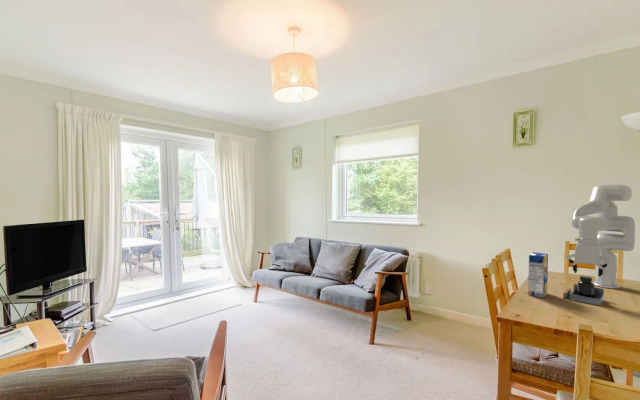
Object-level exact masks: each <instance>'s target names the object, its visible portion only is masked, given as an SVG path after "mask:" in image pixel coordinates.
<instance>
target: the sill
mask: <svg viewBox="0 0 640 400" xmlns="http://www.w3.org/2000/svg"><path fill="white" fill-rule="evenodd" d="M571 292H572V288H567V289H566V290H565V291H564V292H563V295H562V296H563V299H565V300H567V298H568V297H569V296H570V293H571Z"/></svg>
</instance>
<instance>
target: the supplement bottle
mask: <svg viewBox="0 0 640 400" xmlns="http://www.w3.org/2000/svg"><path fill="white" fill-rule="evenodd" d="M592 281H593V277H591V276H585V275H580V276H579V281H577V283H576V284H577V295H580V296H585V297H590V298H594V294H595V286H596V285H594V284H593V283H592Z"/></svg>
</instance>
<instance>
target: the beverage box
mask: <svg viewBox="0 0 640 400" xmlns="http://www.w3.org/2000/svg"><path fill="white" fill-rule="evenodd" d="M548 269H549V254H548V253H544V252H543V253H542V252H535V251H533V252H531V253H529V254H528V285H527V286H528V293H527V294H528V296H531V295H532V297H536V296H537V298H542V299H544V298H545V297H546V296H547V294H548V281H549V280H548V278H549V277H548V275H549V274H548V273H549V272H548V271H549V270H548Z"/></svg>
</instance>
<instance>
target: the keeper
mask: <svg viewBox="0 0 640 400" xmlns="http://www.w3.org/2000/svg"><path fill="white" fill-rule="evenodd" d="M604 291H605V288H603V287H595V294H594V298H590V297H585V296H580V295H577V283H574V284H573V290H571V293H570V295H569V296H568V297H569V301H573V302H574V301H575V302H579V303H585V304H589V305H594V306H600V307H601V305H602V303H603V302H604V296H605V295H604V294H605V292H604Z"/></svg>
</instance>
